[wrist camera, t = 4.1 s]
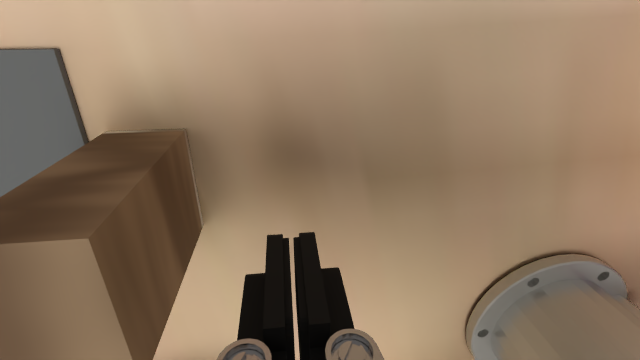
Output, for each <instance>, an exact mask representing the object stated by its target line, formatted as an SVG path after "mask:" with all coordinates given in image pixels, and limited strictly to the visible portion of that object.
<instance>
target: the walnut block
mask: <svg viewBox="0 0 640 360" xmlns="http://www.w3.org/2000/svg"><path fill="white" fill-rule="evenodd" d="M203 225H204V224H203V219H202V213H201V208H200V202H199V197H198V191H197V186H196V180H195V175H194V169H193V164H192V158H191V153H190V147H189V142H188V136H187V131H186V129H161V130H132V131H106V132H104V133H103V134H101V135H100V136H98V137H96V138H95V139H93V140H92V141H90V142H88V143H87V144H85V145H84V146H82V147H80V148H79V149H77V150H75V151H74V152H72V153H71V154H69V155H67V156H66V157H64V158H63V159H61V160H59V161H58V162H56V163H55V164H53V165H51V166H50V167H48V168H46V169H45V170H43V171H42V172H40V173H38V174H37V175H35V176H34V177H32V178H30V179H29V180H27V181H26V182H24V183H22V184H21V185H19V186H17V187H16V188H14V189H13V190H11V191H9V192H8V193H6V194H5V195H3V196H1V197H0V360H153V357H154V354H155V352H156V349H157V347H158V344H159V341H160V339H161V336H162V333H163V331H164V328H165V325H166V323H167V320H168V317H169V315H170V312H171V309H172V307H173V304H174V301H175V299H176V296H177V294H178V291H179V288H180V286H181V283H182V280H183V278H184V275H185V272H186V270H187V267H188V264H189V262H190V259H191V256H192V254H193V251H194V248H195V246H196V243H197V241H198V238H199V235H200V233H201V230H202V227H203Z"/></svg>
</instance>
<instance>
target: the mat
mask: <svg viewBox="0 0 640 360" xmlns="http://www.w3.org/2000/svg"><path fill="white" fill-rule="evenodd" d="M87 143H88V139H87V136H86V133H85V130H84V127H83V123H82V120H81V117H80V114H79V111H78V108H77V104H76V101H75V98H74V95H73V92H72V89H71V86H70V82H69V79H68V76H67V73H66V70H65V67H64V63H63V60H62V57H61V54H60V51H59V49H0V197H1V196H3V195H5V194H6V193H8V192H9V191H11V190H13V189H14V188H16V187H17V186H19V185H21V184H22V183H24V182H26V181H27V180H29V179H30V178H32V177H34V176H35V175H37V174H38V173H40V172H42V171H43V170H45V169H46V168H48V167H50V166H51V165H53V164H55V163H56V162H58V161H59V160H61V159H63V158H64V157H66V156H67V155H69V154H71V153H72V152H74V151H75V150H77V149H79V148H80V147H82V146H84V145H85V144H87Z"/></svg>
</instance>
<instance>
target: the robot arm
mask: <svg viewBox="0 0 640 360" xmlns="http://www.w3.org/2000/svg"><path fill="white" fill-rule="evenodd" d="M294 262H295V287H296V307H297V322H298V337H299V351H300V360H384V358H383V356H382V354H381V352H380V350H379V348H378V346H377V344H376V343H375V341H374V340H373V338H372V337H370V336H369V335H368V334H367V333H365V332H363V331H360V330H357V329H354V325H353V321H352V317H351V313H350V309H349V305H348V301H347V297H346V293H345V289H344V285H343V281H342V277H341V273H340V270H339V268H325V269H321V266H320V261H319V255H318V250H317V244H316V238H315V233H314V232H309V233H299V237H295V238H294ZM466 341H467V346H468V348H469V350H470V352H471V354H472V355H473V357H474V359H475V360H640V310H639V309H638V308H636V307H635V306H634V305H632V304H631V303H630V302H629V301H627V289H626V284H625V282H624V280H623V279H622V277H621V275H619V274H618V273H617V272H616V271H615V270H614V269H613V268H611V267H610V266H608V265H607V264H605V263H604V262H602V261H601V260H599V259H597V258H594V257H591V256H588V255H579V254H566V255H556V256H552V257H548V258H543V259H540V260H537V261H534V262H532V263H529V264H527V265H524V266H522V267H521V268H519V269H517V270H515V271H513V272H511V273H510V274H508V275H507V276H505V277H504V278H503V279H501V280H500V281H498V282H497V283H496V284H495V285H494V286H493V287H492V288H491V289H489V290H488V291H487V292H486V293H485V295H484V296H483V297H482V298H481V300H480V301H479V302H478V303H477V305H476V306H475V308H474V310H473V312H472V314H471V315H470V318H469V321H468V324H467V327H466ZM217 360H295V351H294V329H293V310H292V291H291V272H290V253H289V238H283V234H279V235H267V249H266V270H265V273H261V274H248V275H246V276H245V282H244V290H243V298H242V306H241V314H240V322H239V330H238V338H237V341H235V342H233V343H231V344H230V345H228V346H227V347H226V348H225V349H224V350H223V351H222V352H221V353H220V354H219V356H218V358H217Z"/></svg>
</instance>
